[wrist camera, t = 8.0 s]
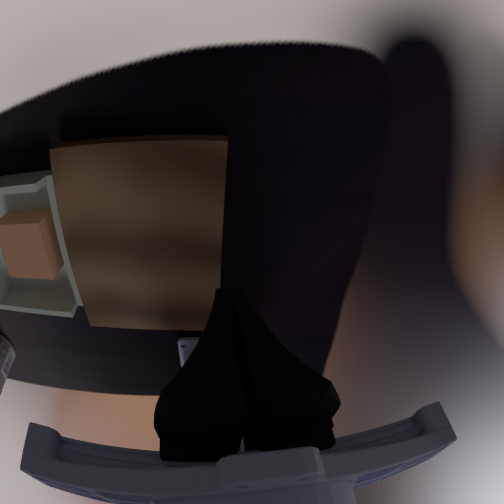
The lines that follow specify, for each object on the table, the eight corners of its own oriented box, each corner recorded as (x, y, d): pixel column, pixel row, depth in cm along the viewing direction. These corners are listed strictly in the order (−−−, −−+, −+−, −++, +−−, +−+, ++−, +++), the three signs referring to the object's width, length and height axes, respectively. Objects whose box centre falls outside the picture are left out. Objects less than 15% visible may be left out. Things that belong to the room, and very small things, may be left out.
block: (65, 261, 21) (54, 279, 19) (22, 260, 21) (10, 277, 18) (52, 208, 19) (38, 223, 17) (8, 211, 18) (-7, 225, 16)
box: (88, 295, 24) (78, 317, 21) (10, 289, 22) (-2, 308, 20) (61, 168, 18) (42, 182, 15) (-23, 180, 16) (-43, 194, 14)
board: (217, 314, 27) (218, 330, 25) (95, 311, 25) (90, 325, 23) (226, 135, 18) (228, 141, 17) (61, 142, 17) (49, 149, 15)
